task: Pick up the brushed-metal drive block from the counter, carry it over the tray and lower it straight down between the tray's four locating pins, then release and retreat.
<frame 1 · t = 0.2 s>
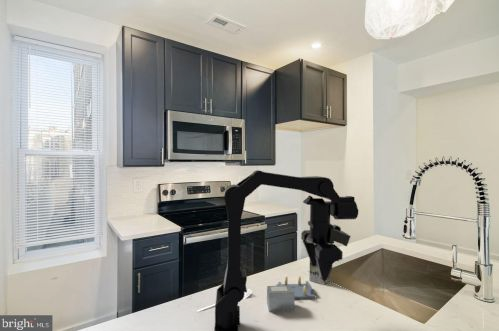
hand: (319, 272, 75), 14 cm above the countertop, fingers open, 9 cm apart
fork: (225, 304, 84), on the countertop
tray: (295, 292, 91), on the countertop
coffee box: (321, 279, 102), on the countertop
drive: (280, 307, 81), on the countertop
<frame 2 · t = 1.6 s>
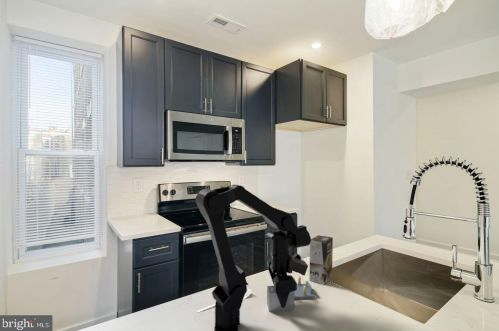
hand: (280, 299, 81), 3 cm above the countertop, fingers open, 9 cm apart
nothing on the countertop moved.
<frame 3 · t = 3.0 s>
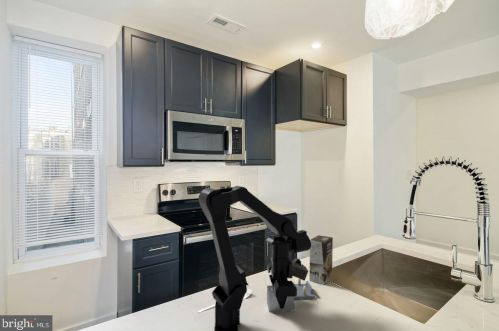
hand: (280, 304, 81), 1 cm above the countertop, fingers closed on drive, 4 cm apart
drive: (280, 307, 81), on the countertop, touching gripper
everything else where it was.
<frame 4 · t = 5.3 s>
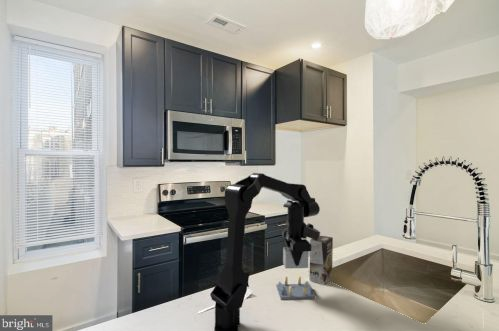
hand: (295, 262, 91), 11 cm above the countertop, fingers closed on drive, 4 cm apart
drive: (295, 265, 91), point 10 cm above the countertop, touching gripper
everything else where it was.
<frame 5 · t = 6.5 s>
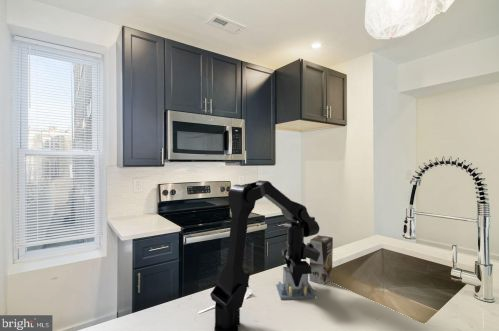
hand: (295, 283, 91), 3 cm above the countertop, fingers closed on drive, 4 cm apart
drive: (295, 285, 91), point 2 cm above the countertop, touching gripper
everything else where it was.
when the fingers open (3 cm above the countertop, at t = 7.6 s): drive drops 1 cm, resting on tray.
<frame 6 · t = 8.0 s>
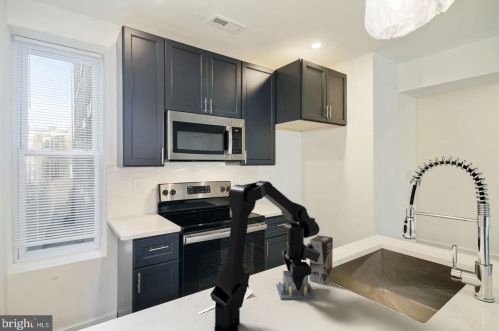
hand: (295, 283, 91), 3 cm above the countertop, fingers open, 9 cm apart
drive: (295, 290, 91), point 1 cm above the countertop, touching tray
everything else where it was.
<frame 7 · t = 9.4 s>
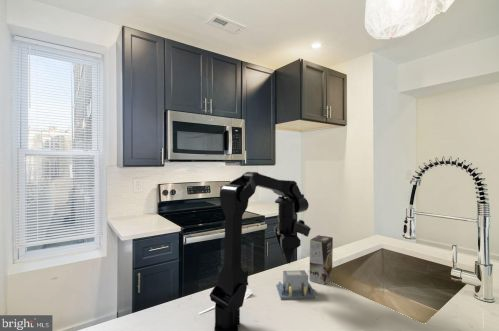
hand: (285, 258, 92), 12 cm above the countertop, fingers open, 9 cm apart
nothing on the countertop moved.
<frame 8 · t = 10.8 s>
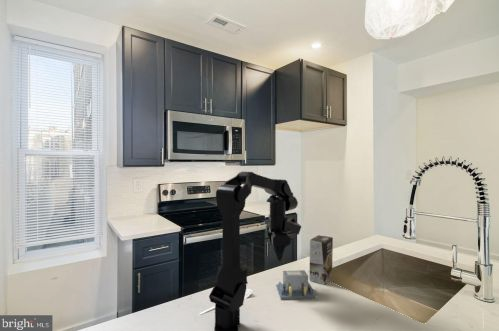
hand: (277, 256, 93), 12 cm above the countertop, fingers open, 9 cm apart
nothing on the countertop moved.
at the end: drive 0.0 cm off-centre on the tray, point 0.8 cm above the tray's base; drive tilted 0°; the gripper is holding nothing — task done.
